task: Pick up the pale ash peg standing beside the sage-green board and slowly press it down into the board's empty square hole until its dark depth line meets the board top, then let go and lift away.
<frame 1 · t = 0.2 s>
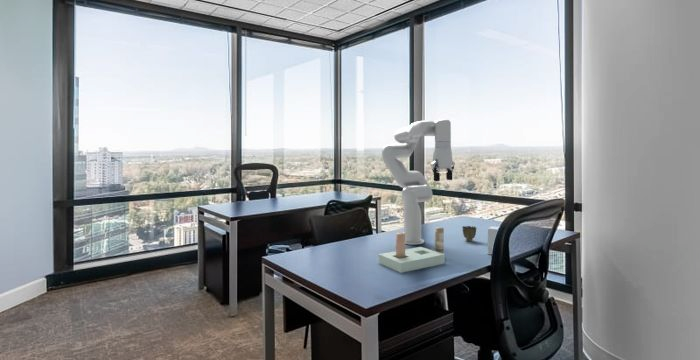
hand: (443, 180, 184), 36 cm above the table, tool pointing down, fingers open, 9 cm apart
beige upright rod: (400, 265, 164), resting on peg board
cup: (469, 241, 209), on the table
peg board: (411, 265, 167), on the table
supplement box: (496, 253, 183), on the table
ash peg: (439, 257, 178), on the table
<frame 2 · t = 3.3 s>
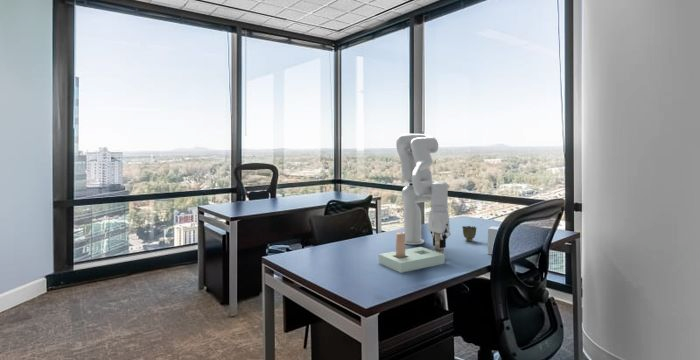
hand: (439, 246, 178), 5 cm above the table, tool pointing down, fingers closed on ash peg, 4 cm apart
ash peg: (439, 257, 178), on the table, touching gripper
everything else where it was.
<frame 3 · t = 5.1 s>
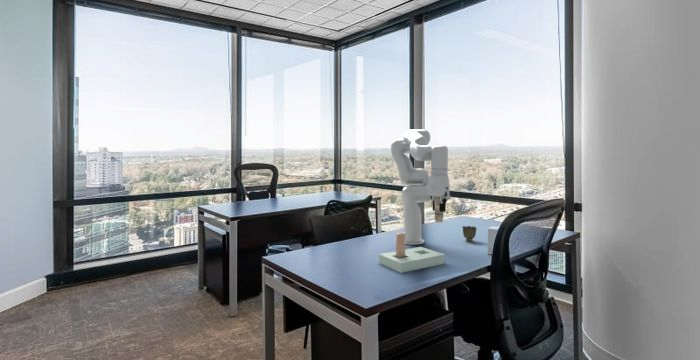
hand: (438, 210, 177), 22 cm above the table, tool pointing down, fingers closed on ash peg, 4 cm apart
ash peg: (438, 221, 177), point 17 cm above the table, touching gripper
everything else where it was.
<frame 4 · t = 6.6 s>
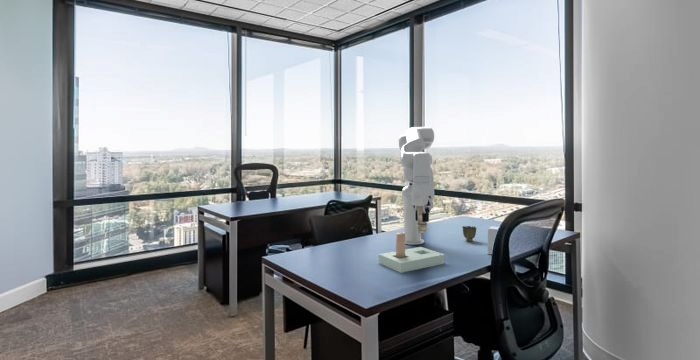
hand: (422, 220, 168), 19 cm above the table, tool pointing down, fingers closed on ash peg, 4 cm apart
ash peg: (422, 232, 168), point 14 cm above the table, touching gripper
everything else where it was.
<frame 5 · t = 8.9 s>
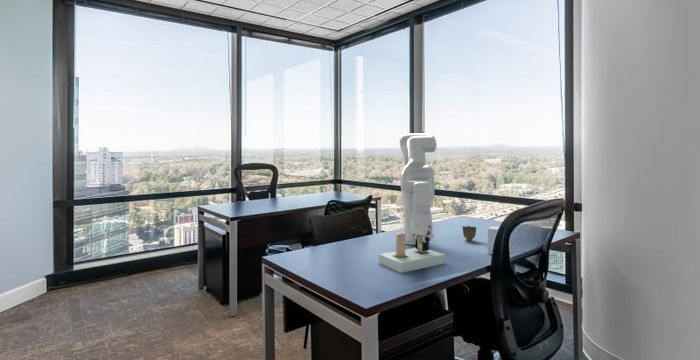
hand: (422, 249, 169), 6 cm above the table, tool pointing down, fingers closed on ash peg, 4 cm apart
ash peg: (422, 260, 169), point 1 cm above the table, touching gripper
everything else where it was.
when the fingers open (6 cm above the table, at t = 10.2 s): ash peg stays where it is, resting on peg board.
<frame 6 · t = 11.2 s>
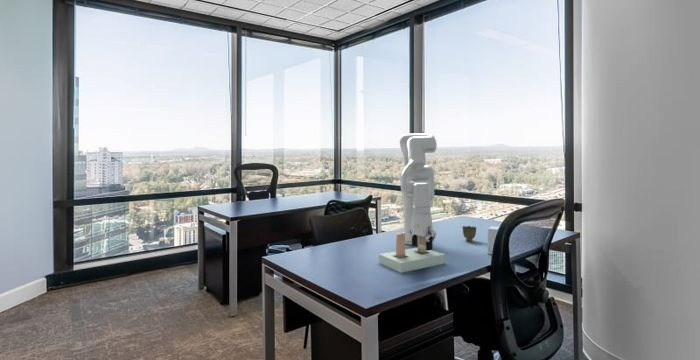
hand: (422, 247, 169), 7 cm above the table, tool pointing down, fingers open, 9 cm apart
ash peg: (422, 261, 169), point 1 cm above the table, touching peg board
everything else where it was.
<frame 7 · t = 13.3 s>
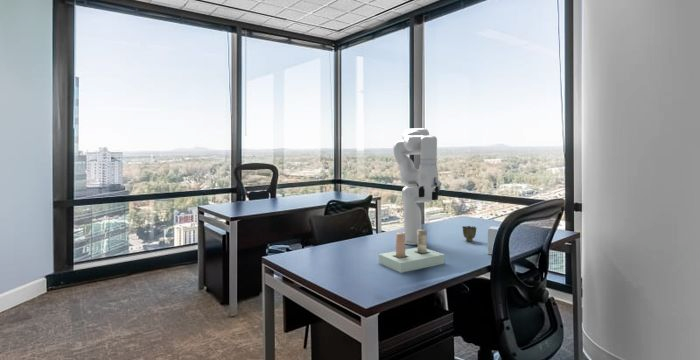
hand: (428, 198, 178), 28 cm above the table, tool pointing down, fingers open, 9 cm apart
nothing on the table moved.
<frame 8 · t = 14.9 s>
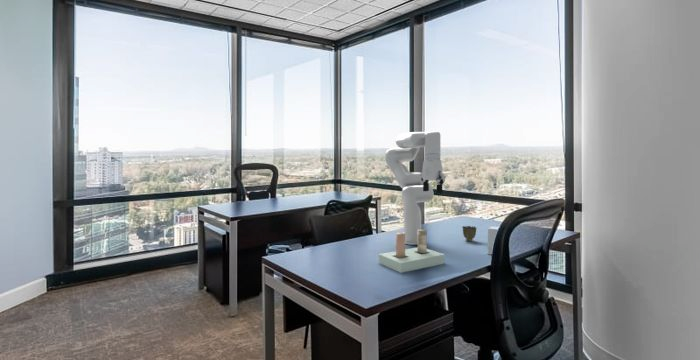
hand: (432, 191, 185), 30 cm above the table, tool pointing down, fingers open, 9 cm apart
nothing on the table moved.
at the end: ash peg 0.1 cm from the target spot on the peg board, point 1.0 cm above the peg board's base; ash peg tilted 0°; the gripper is holding nothing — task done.
